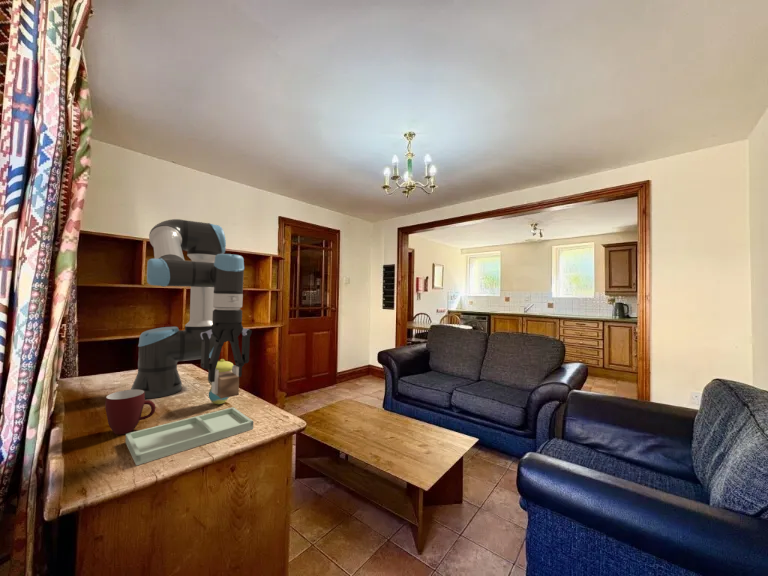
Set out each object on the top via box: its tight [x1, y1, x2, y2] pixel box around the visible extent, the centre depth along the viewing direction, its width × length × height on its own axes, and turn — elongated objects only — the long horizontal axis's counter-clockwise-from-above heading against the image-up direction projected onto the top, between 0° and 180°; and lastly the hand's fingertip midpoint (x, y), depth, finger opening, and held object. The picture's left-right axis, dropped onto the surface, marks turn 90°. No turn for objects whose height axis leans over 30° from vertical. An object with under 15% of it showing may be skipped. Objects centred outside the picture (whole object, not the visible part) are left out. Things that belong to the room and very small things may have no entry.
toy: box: [207, 358, 235, 405], centre depth 104 cm, size 8×9×15 cm
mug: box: [104, 389, 156, 436], centre depth 84 cm, size 10×8×10 cm
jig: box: [125, 406, 254, 467], centre depth 82 cm, size 14×26×2 cm, turn 137°
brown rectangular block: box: [216, 371, 240, 399], centre depth 87 cm, size 4×9×5 cm, turn 42°
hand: (225, 390), depth 88 cm, fingers closed on brown rectangular block, 5 cm apart
